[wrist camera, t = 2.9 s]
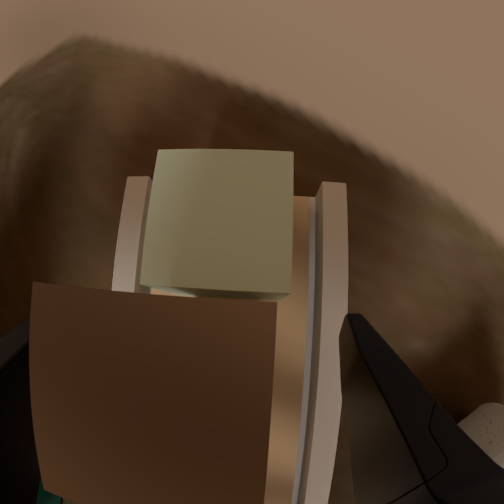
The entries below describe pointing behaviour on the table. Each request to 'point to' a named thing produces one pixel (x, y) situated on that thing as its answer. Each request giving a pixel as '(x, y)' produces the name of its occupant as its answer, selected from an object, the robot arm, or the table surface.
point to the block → (220, 224)
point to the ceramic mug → (487, 430)
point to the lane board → (318, 321)
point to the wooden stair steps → (169, 391)
